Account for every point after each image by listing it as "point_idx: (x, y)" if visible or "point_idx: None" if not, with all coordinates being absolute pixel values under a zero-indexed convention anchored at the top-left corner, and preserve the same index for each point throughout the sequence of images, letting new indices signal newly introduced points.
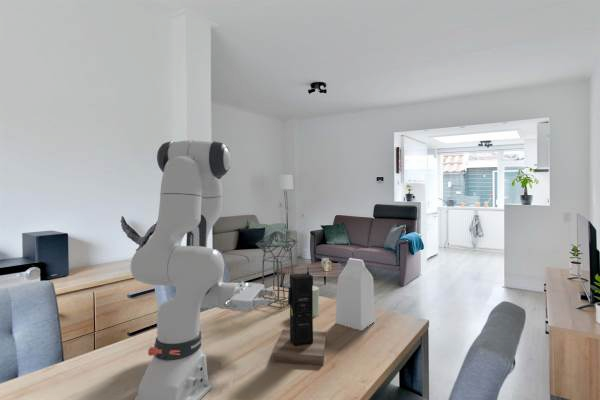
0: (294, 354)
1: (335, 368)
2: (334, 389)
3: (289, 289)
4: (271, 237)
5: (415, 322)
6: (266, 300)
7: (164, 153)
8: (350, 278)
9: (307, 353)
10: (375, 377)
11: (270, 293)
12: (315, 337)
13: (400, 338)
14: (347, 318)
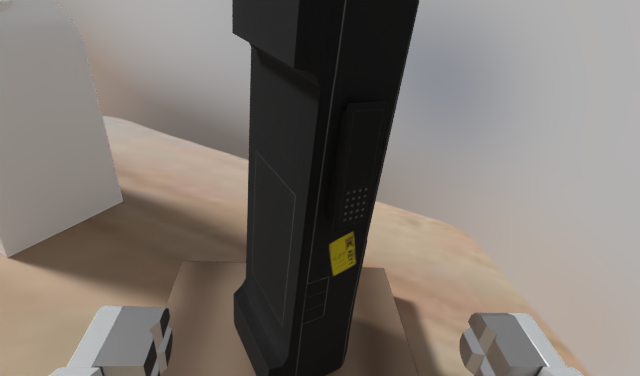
0: (412, 357)
1: (382, 264)
2: (479, 268)
3: (368, 120)
4: None
5: (104, 123)
6: (532, 326)
7: None
8: (17, 26)
9: (387, 311)
10: (388, 205)
11: (151, 365)
12: None
13: (194, 153)
14: (61, 201)
